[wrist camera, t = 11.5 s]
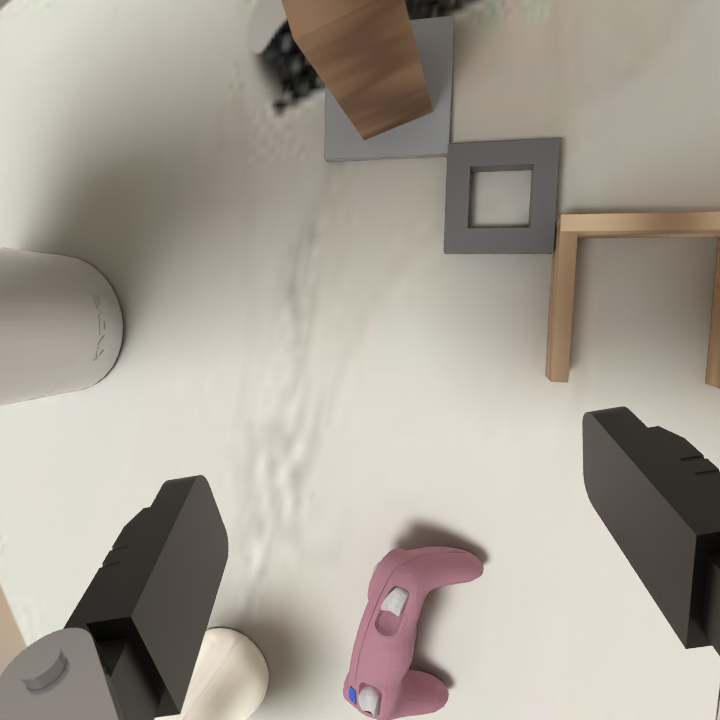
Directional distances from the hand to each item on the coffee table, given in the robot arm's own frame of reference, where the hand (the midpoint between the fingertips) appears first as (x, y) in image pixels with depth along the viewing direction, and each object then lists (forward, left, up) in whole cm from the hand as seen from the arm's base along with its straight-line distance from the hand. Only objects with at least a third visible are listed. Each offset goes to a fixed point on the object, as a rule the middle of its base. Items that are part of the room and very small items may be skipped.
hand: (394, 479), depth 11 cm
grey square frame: (+2, +10, -19) cm, 22 cm away
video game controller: (-1, -15, -19) cm, 24 cm away
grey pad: (-4, +16, -19) cm, 25 cm away
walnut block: (-4, +15, -19) cm, 24 cm away
